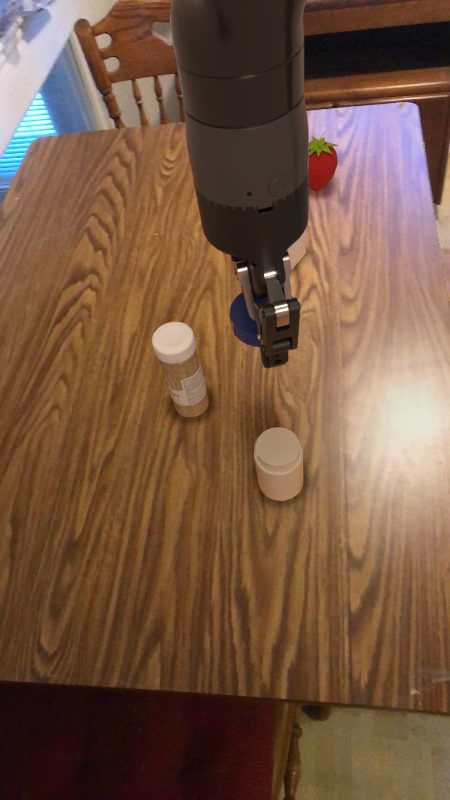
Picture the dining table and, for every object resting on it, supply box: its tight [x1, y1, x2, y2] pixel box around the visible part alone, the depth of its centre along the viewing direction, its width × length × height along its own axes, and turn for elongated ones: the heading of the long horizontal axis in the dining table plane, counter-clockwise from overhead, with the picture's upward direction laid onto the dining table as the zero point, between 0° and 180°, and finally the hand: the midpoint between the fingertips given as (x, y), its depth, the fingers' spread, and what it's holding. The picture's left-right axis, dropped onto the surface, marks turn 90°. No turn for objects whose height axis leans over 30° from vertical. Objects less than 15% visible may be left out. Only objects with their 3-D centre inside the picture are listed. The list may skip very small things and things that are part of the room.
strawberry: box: [309, 131, 339, 192], centre depth 87 cm, size 6×8×10 cm
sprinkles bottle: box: [151, 321, 210, 418], centre depth 65 cm, size 5×5×13 cm
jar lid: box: [228, 291, 294, 348], centre depth 48 cm, size 6×6×2 cm
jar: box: [253, 426, 304, 502], centre depth 60 cm, size 5×5×8 cm
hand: (265, 336), depth 50 cm, fingers closed on jar lid, 5 cm apart
